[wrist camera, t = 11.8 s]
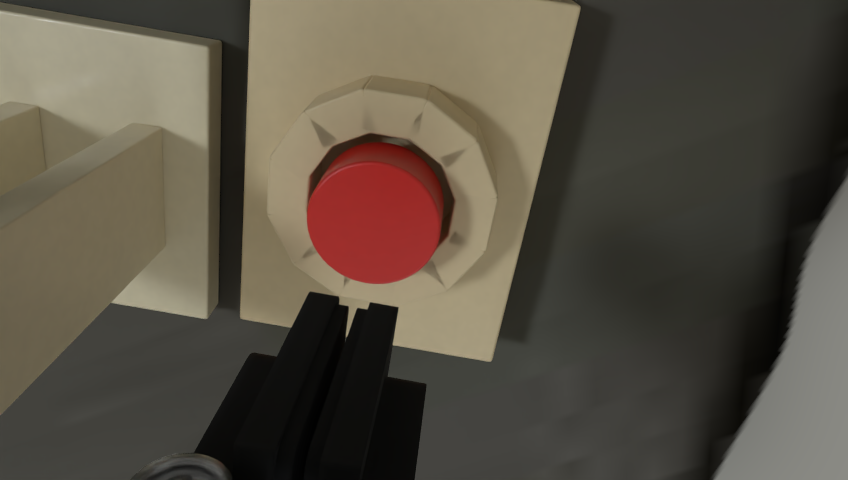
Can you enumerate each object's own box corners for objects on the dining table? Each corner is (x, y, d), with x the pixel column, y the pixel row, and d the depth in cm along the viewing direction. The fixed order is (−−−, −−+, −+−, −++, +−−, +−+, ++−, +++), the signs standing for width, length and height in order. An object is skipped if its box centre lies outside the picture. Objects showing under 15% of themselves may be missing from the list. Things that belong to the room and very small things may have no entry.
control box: (274, -54, 19) (227, -50, 15) (571, -3, 19) (593, 13, 15) (258, 288, 24) (220, 350, 21) (490, 328, 24) (493, 396, 21)
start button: (325, 131, 18) (310, 150, 16) (453, 152, 18) (452, 174, 16) (315, 245, 19) (301, 273, 18) (432, 265, 19) (429, 295, 18)
